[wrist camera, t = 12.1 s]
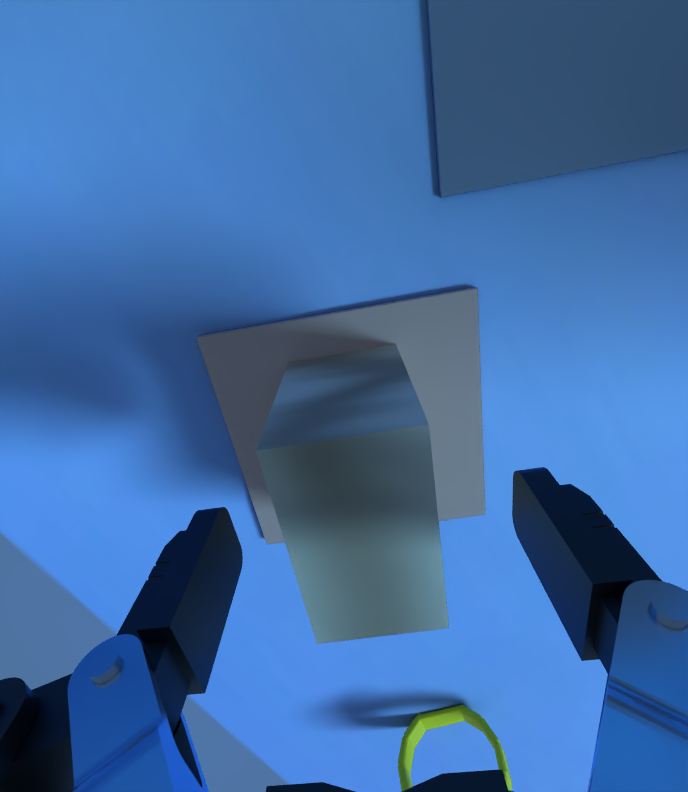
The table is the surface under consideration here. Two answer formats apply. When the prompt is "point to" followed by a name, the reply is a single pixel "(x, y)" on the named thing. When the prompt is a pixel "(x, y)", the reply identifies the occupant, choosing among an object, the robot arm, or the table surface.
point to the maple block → (356, 495)
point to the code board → (554, 86)
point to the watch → (438, 720)
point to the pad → (351, 331)
